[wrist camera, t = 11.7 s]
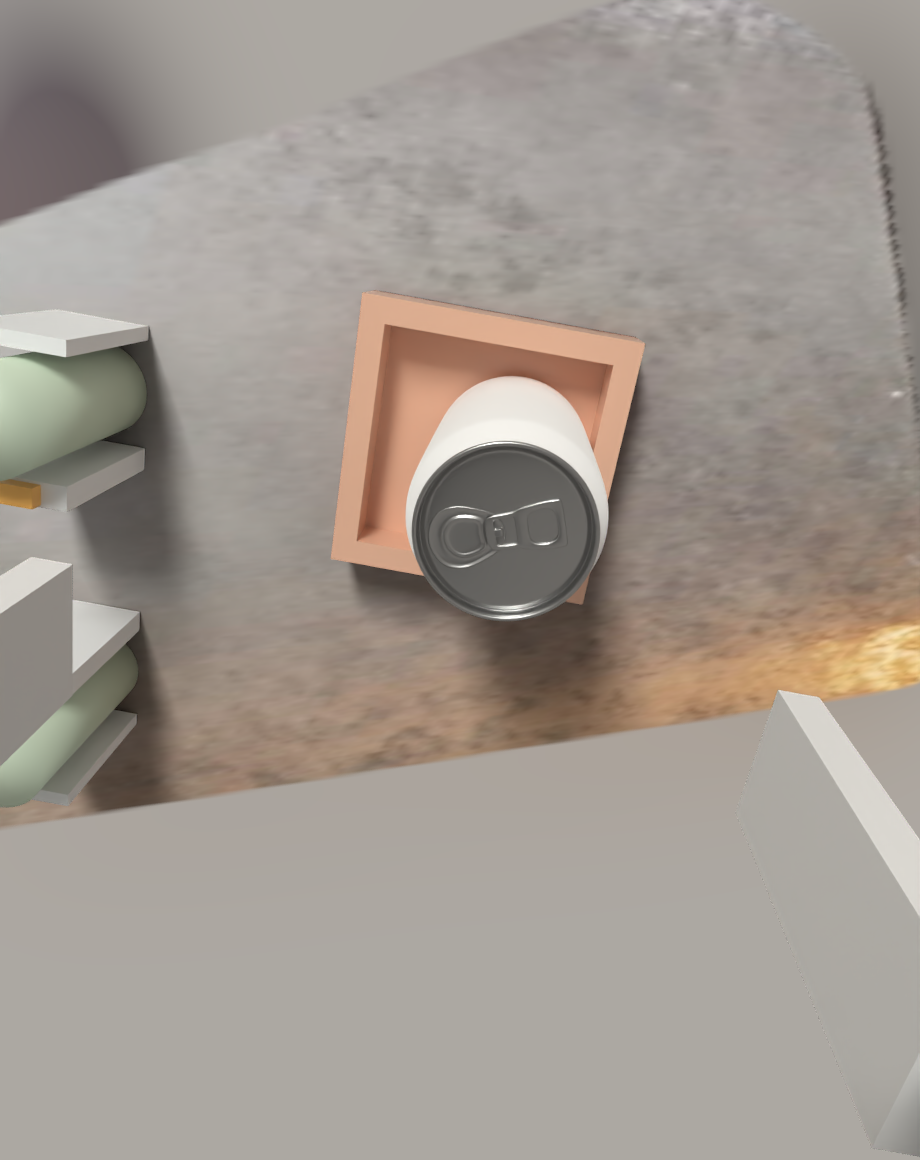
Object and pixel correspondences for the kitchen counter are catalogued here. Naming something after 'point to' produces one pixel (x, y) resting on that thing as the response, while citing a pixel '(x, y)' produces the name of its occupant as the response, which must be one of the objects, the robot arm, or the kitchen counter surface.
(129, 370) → the green piece
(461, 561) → the can
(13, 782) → the peg
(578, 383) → the tray
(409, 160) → the kitchen counter surface
